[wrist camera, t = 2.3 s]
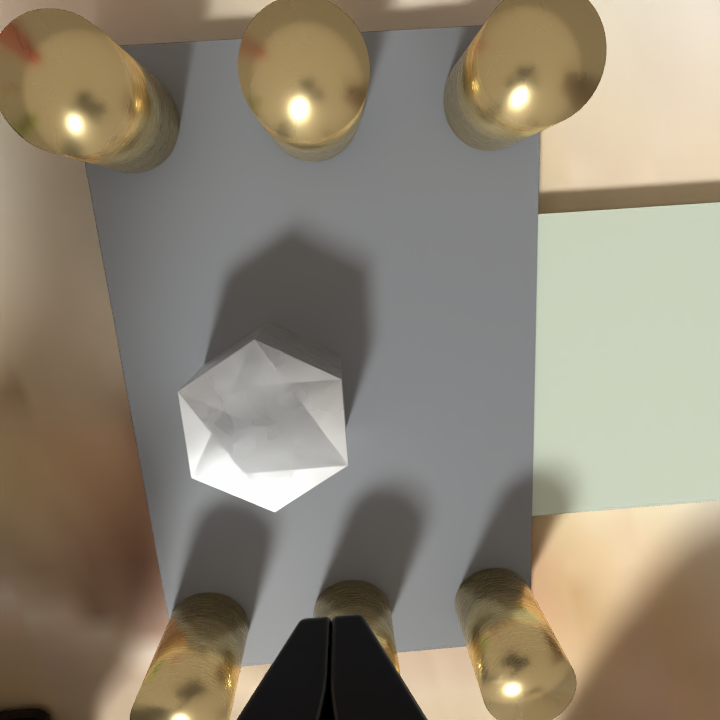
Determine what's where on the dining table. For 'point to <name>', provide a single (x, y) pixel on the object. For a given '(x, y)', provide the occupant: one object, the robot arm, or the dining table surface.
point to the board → (336, 336)
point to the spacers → (314, 144)
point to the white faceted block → (266, 417)
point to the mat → (627, 359)
